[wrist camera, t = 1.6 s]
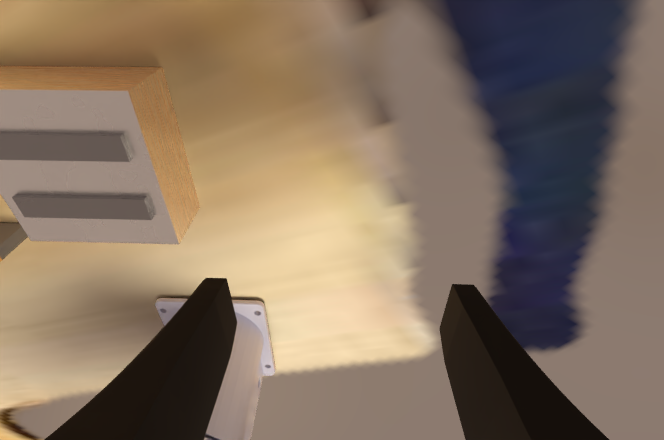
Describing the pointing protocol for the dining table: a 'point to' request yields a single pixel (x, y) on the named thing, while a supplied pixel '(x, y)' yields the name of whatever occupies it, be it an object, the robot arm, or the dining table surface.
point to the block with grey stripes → (93, 155)
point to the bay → (10, 237)
